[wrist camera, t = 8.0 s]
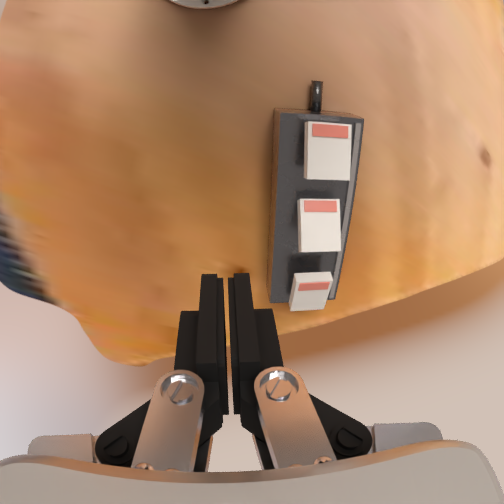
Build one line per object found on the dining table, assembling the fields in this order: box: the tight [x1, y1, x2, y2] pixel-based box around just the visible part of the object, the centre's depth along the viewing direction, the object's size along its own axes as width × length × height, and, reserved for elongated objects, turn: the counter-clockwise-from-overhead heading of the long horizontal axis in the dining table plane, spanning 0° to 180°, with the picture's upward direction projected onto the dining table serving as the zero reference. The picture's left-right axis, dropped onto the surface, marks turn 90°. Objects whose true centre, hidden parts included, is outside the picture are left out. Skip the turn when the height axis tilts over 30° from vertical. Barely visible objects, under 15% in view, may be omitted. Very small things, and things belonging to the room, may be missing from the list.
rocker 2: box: [297, 199, 341, 252], centre depth 34 cm, size 6×4×2 cm
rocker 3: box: [289, 272, 333, 311], centre depth 39 cm, size 6×4×2 cm
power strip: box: [266, 81, 364, 303], centre depth 37 cm, size 28×9×4 cm, turn 179°
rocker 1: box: [304, 121, 352, 181], centre depth 30 cm, size 6×4×2 cm
